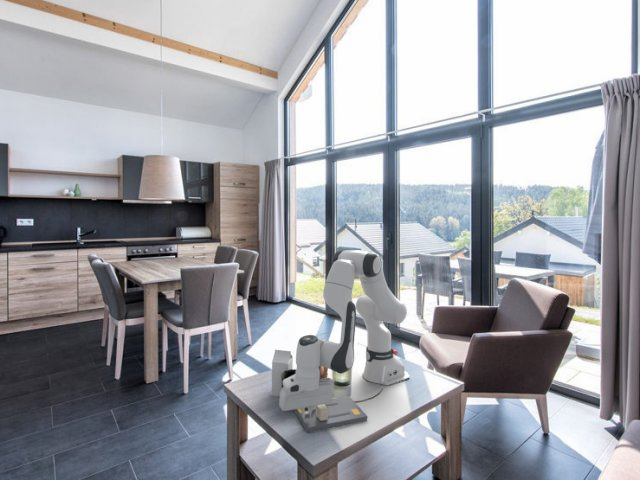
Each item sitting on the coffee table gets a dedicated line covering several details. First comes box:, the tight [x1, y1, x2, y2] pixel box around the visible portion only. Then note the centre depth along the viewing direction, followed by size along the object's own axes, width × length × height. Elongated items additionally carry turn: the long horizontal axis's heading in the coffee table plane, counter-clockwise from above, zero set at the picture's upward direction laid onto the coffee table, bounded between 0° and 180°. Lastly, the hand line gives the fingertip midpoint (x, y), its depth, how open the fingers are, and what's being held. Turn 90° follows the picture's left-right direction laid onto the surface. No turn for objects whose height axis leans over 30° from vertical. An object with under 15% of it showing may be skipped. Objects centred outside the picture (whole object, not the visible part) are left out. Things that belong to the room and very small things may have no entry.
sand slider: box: [316, 404, 328, 421], centre depth 140 cm, size 3×4×4 cm
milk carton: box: [271, 349, 294, 398], centre depth 162 cm, size 7×7×19 cm
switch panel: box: [294, 395, 368, 434], centre depth 146 cm, size 24×16×2 cm, turn 111°
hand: (306, 417), depth 138 cm, fingers closed
